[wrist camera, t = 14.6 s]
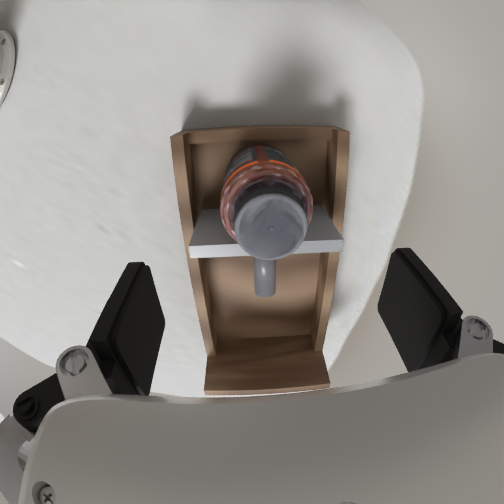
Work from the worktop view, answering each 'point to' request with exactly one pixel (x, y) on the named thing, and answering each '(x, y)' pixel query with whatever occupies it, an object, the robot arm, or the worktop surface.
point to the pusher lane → (242, 268)
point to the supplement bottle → (265, 202)
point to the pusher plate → (223, 245)
